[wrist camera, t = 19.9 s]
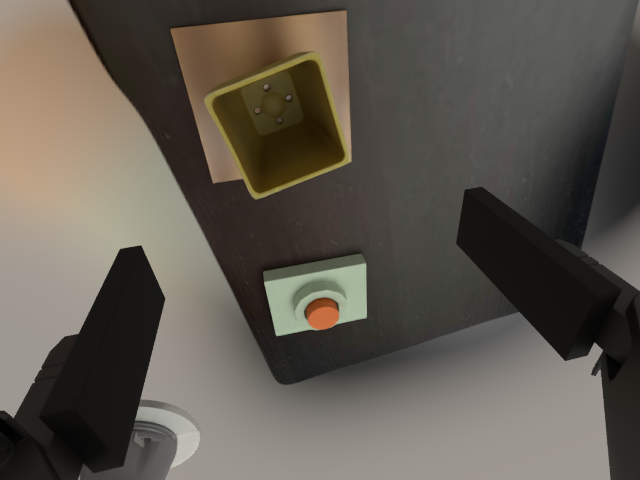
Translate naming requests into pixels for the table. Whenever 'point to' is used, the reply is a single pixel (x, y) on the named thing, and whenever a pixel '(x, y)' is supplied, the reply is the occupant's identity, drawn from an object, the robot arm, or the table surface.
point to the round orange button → (322, 313)
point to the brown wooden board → (257, 67)
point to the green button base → (316, 291)
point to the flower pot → (280, 138)
